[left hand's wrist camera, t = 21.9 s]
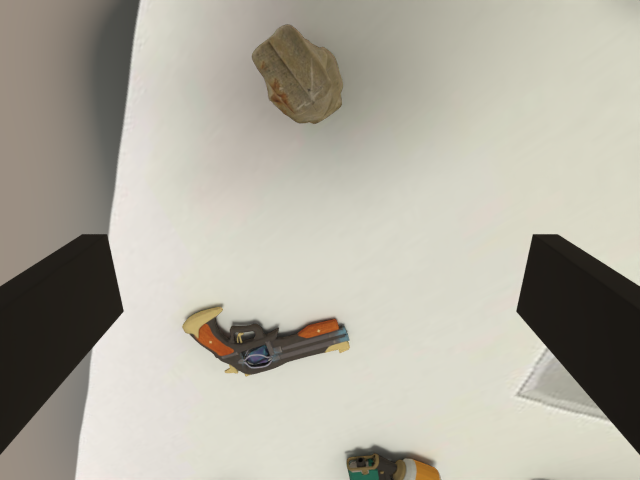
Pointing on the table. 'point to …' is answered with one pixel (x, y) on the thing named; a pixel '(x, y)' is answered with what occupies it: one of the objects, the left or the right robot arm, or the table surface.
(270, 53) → the sculpture
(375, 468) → the spray gun
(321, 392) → the table surface
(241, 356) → the toy gun
